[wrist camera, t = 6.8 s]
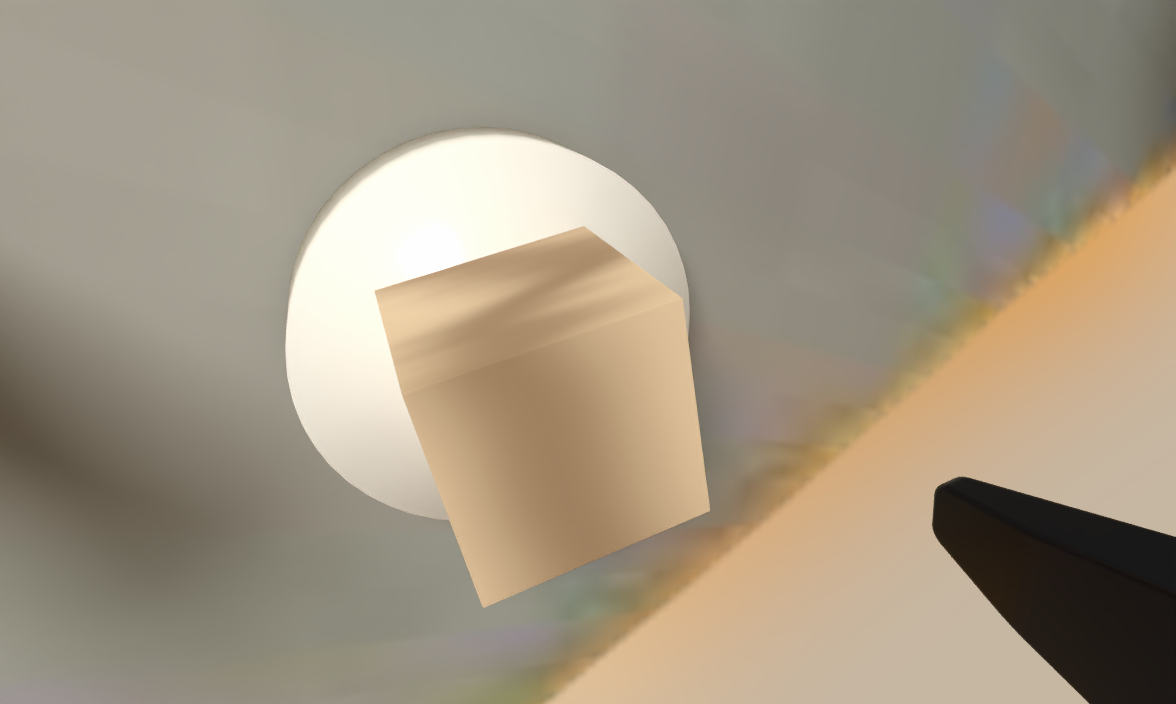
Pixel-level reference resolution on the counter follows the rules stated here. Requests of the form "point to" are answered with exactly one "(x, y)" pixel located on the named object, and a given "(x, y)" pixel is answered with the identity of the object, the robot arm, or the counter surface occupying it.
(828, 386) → the counter surface
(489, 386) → the beech cube
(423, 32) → the counter surface
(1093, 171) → the counter surface
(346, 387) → the ceramic stand
